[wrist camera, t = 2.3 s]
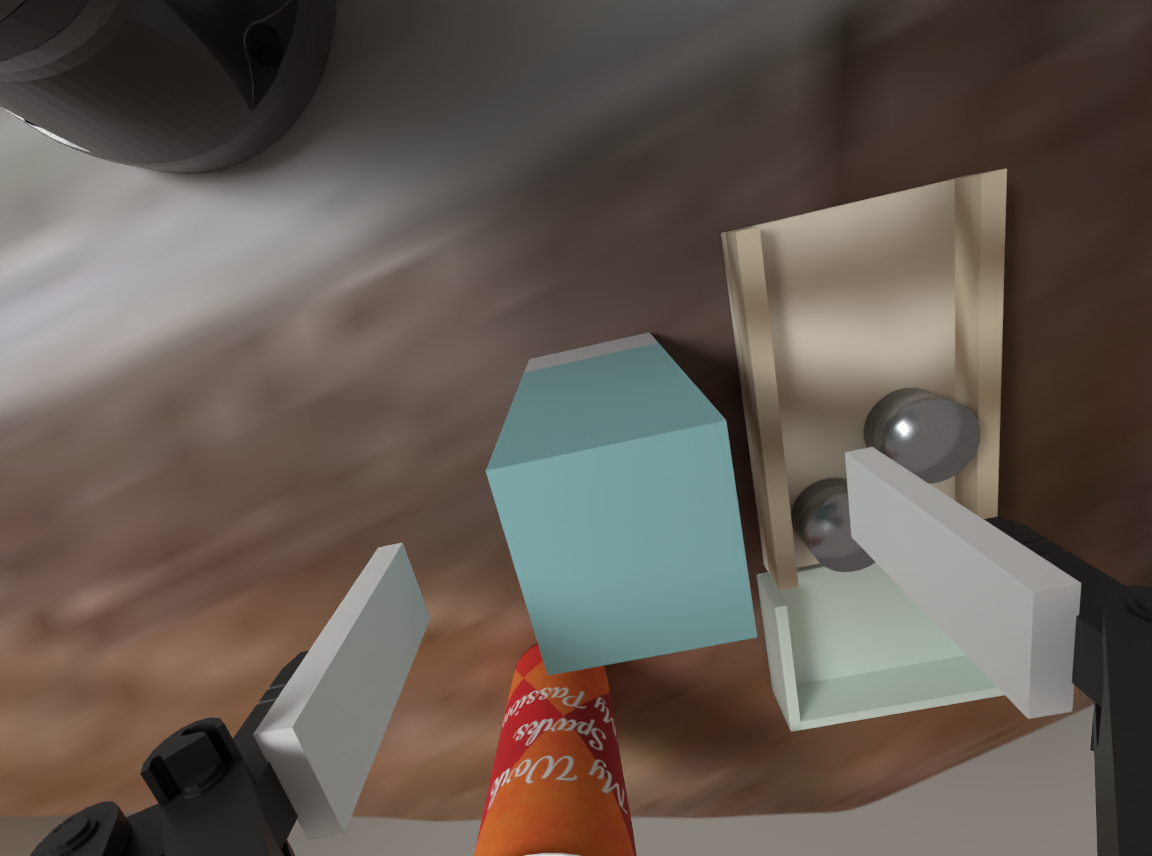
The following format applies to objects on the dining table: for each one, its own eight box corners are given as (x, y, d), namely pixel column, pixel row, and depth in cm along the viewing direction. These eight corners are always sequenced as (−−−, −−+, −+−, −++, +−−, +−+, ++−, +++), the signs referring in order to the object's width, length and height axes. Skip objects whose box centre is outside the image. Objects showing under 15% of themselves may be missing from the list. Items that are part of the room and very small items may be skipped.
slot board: (720, 233, 25) (735, 231, 23) (965, 175, 24) (1006, 168, 22) (764, 564, 30) (779, 590, 28) (964, 526, 30) (996, 549, 27)
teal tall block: (529, 359, 27) (485, 471, 13) (649, 332, 26) (726, 420, 13) (559, 477, 29) (547, 675, 15) (671, 453, 28) (757, 637, 15)
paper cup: (630, 627, 32) (671, 900, 19) (616, 727, 34) (643, 1033, 21) (497, 618, 32) (442, 889, 18) (492, 720, 34) (441, 1024, 21)
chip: (787, 486, 28) (807, 508, 26) (865, 470, 28) (892, 491, 25) (794, 552, 29) (814, 579, 27) (869, 537, 29) (895, 563, 27)
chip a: (861, 396, 27) (889, 411, 24) (944, 379, 26) (981, 392, 24) (865, 470, 28) (892, 491, 25) (945, 454, 28) (980, 474, 25)
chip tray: (756, 574, 31) (774, 607, 28) (973, 532, 30) (1015, 562, 27) (772, 690, 33) (790, 731, 30) (971, 654, 32) (1010, 694, 30)
